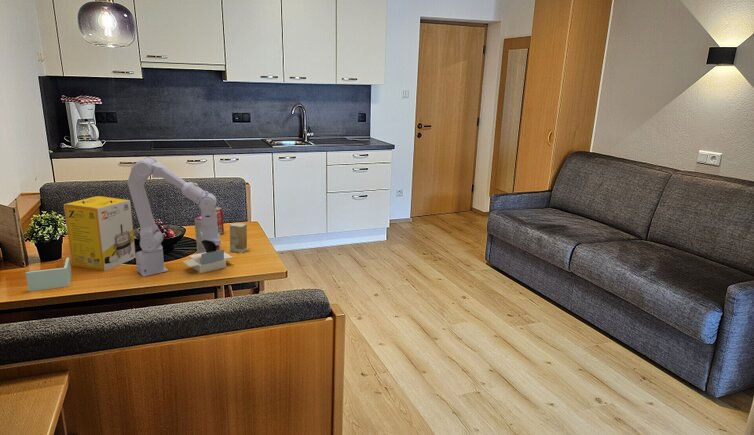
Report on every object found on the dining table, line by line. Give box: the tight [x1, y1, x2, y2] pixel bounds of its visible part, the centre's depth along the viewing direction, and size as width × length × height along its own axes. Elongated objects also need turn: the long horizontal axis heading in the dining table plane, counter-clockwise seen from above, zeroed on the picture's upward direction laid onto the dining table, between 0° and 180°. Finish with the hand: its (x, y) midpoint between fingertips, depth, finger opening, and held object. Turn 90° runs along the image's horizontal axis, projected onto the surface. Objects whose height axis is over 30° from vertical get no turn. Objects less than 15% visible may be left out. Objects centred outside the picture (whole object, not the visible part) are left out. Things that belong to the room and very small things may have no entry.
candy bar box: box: [194, 213, 220, 254], centre depth 213 cm, size 11×5×16 cm, turn 168°
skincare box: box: [229, 222, 248, 254], centre depth 216 cm, size 6×4×12 cm
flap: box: [201, 248, 225, 265], centre depth 193 cm, size 9×4×1 cm
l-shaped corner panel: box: [25, 256, 72, 292], centre depth 177 cm, size 12×12×8 cm
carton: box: [182, 251, 234, 275], centre depth 198 cm, size 18×13×6 cm
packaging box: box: [63, 195, 136, 272], centre depth 196 cm, size 16×16×25 cm
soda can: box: [215, 206, 225, 236], centre depth 238 cm, size 7×7×13 cm
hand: (211, 257), depth 194 cm, fingers closed
